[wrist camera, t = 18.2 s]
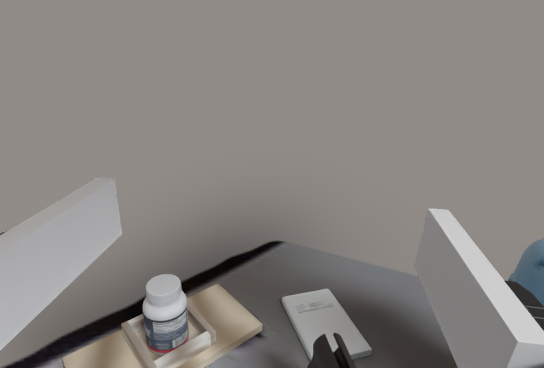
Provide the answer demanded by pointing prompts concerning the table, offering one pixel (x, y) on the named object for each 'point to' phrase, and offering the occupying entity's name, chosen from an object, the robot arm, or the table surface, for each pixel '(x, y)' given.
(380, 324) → the table surface
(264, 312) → the table surface
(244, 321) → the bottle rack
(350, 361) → the phone stand
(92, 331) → the table surface
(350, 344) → the external hard drive
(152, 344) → the pill bottle
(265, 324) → the table surface
